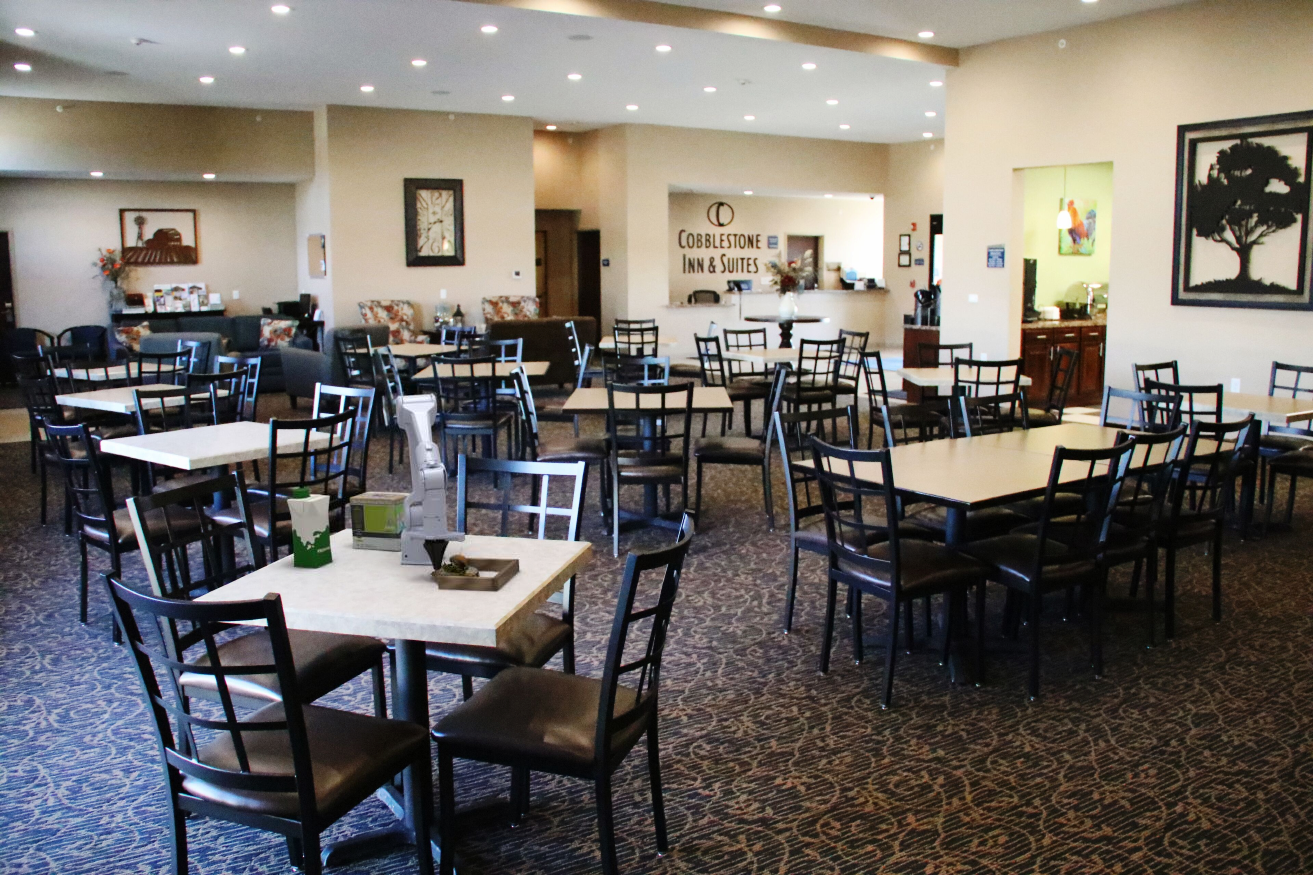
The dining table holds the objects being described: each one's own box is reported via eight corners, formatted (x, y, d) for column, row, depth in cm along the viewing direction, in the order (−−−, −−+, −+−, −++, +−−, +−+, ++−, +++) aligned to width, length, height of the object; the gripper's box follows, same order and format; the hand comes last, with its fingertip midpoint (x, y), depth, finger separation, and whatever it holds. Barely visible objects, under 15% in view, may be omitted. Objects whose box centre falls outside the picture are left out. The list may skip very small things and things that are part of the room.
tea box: (418, 543, 293) (415, 492, 290) (398, 552, 283) (395, 499, 281) (372, 539, 298) (369, 489, 295) (351, 548, 288) (348, 496, 286)
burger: (423, 577, 259) (421, 548, 258) (466, 569, 266) (465, 541, 264) (443, 588, 249) (442, 558, 248) (487, 579, 256) (486, 550, 255)
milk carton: (309, 558, 279) (304, 485, 276) (338, 560, 276) (333, 487, 273) (288, 567, 270) (282, 492, 267) (317, 569, 267) (312, 494, 264)
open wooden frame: (438, 589, 248) (437, 576, 248) (464, 568, 265) (463, 557, 265) (497, 591, 246) (496, 578, 245) (519, 570, 263) (518, 559, 262)
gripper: (400, 518, 252) (403, 572, 254) (456, 519, 250) (459, 574, 252) (412, 512, 259) (415, 564, 261) (467, 513, 257) (469, 566, 259)
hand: (437, 568), depth 257 cm, fingers closed
